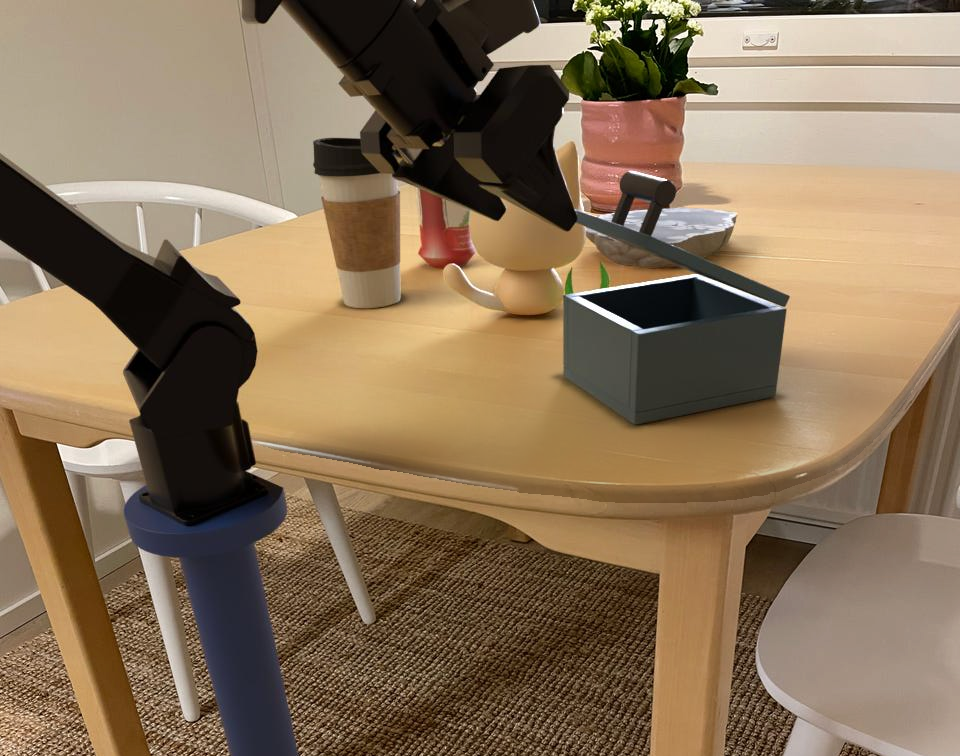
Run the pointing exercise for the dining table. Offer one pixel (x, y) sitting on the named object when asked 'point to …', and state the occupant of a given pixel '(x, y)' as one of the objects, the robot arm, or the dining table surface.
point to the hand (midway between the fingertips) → (535, 220)
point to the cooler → (672, 346)
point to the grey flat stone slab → (670, 235)
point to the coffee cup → (360, 222)
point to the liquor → (443, 231)
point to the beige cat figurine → (526, 253)
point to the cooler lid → (659, 197)
